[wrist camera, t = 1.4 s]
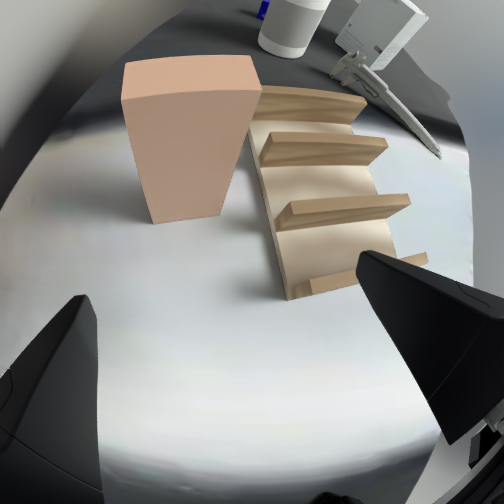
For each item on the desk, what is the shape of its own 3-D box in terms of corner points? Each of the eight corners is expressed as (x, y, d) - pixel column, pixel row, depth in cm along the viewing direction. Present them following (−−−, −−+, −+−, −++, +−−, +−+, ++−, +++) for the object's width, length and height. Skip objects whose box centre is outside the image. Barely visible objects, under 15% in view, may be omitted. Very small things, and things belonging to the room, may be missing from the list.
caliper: (327, 78, 32) (346, 47, 26) (329, 75, 32) (348, 44, 26) (439, 160, 33) (467, 141, 27) (439, 156, 34) (466, 136, 28)
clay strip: (219, 215, 23) (262, 90, 10) (153, 224, 22) (120, 100, 8) (214, 188, 24) (249, 55, 10) (151, 196, 22) (125, 62, 9)
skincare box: (333, 42, 35) (370, -22, 21) (353, 41, 37) (390, -15, 23) (368, 74, 34) (416, 10, 20) (386, 71, 36) (431, 16, 22)
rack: (394, 273, 26) (428, 263, 21) (286, 300, 22) (312, 294, 18) (342, 123, 29) (363, 97, 24) (243, 119, 26) (255, 85, 21)
